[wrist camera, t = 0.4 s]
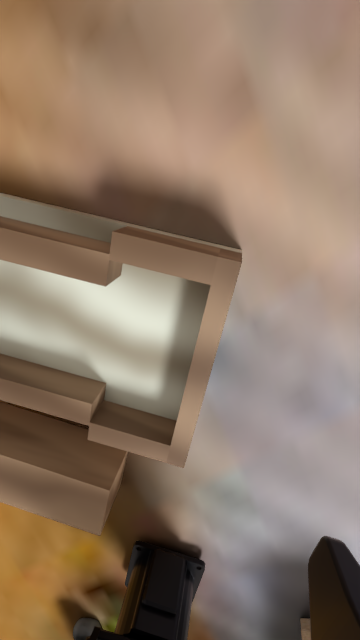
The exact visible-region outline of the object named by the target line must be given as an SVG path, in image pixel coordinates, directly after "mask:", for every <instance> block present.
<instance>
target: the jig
mask: <svg viewBox="0 0 360 640" xmlns="http://www.w3.org/2000/svg"><path fill="white" fill-rule="evenodd" d="M241 263H242V250H240V249H236V248H231V247H227V246H223V245H219V244H215V243H210V242H206V241H202V240H198V239H194V238H189V237H185V236H181V235H177V234H173V233H168V232H164V231H160V230H156V229H152V228H147V227H143V226H139V225H135V224H131V223H126V222H122V221H118V220H114V219H109V218H105V217H101V216H97V215H93V214H88V213H84V212H80V211H76V210H72V209H67V208H63V207H59V206H55V205H51V204H46V203H42V202H38V201H34V200H30V199H25V198H21V197H17V196H13V195H8V194H4V193H0V400H2V401H5V402H9V403H12V404H16V405H19V406H23V407H26V408H29V409H33V410H36V411H40V412H43V413H47V414H50V415H53V416H57V417H60V418H64V419H67V420H71V421H74V422H77V423H81V424H84V425H88V426H89V432H88V440H90V441H94V442H97V443H100V444H104V445H107V446H111V447H114V448H117V449H121V450H124V451H128V452H131V453H134V454H138V455H141V456H145V457H148V458H151V459H155V460H158V461H161V462H165V463H168V464H172V465H175V466H178V467H182V468H184V465H185V462H186V458H187V455H188V451H189V448H190V444H191V441H192V437H193V434H194V430H195V426H196V423H197V419H198V416H199V412H200V409H201V405H202V402H203V398H204V395H205V391H206V387H207V384H208V380H209V377H210V373H211V370H212V366H213V363H214V359H215V356H216V352H217V348H218V345H219V341H220V338H221V334H222V331H223V327H224V324H225V320H226V317H227V313H228V309H229V306H230V302H231V299H232V295H233V292H234V288H235V285H236V281H237V277H238V274H239V270H240V267H241Z"/></svg>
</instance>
